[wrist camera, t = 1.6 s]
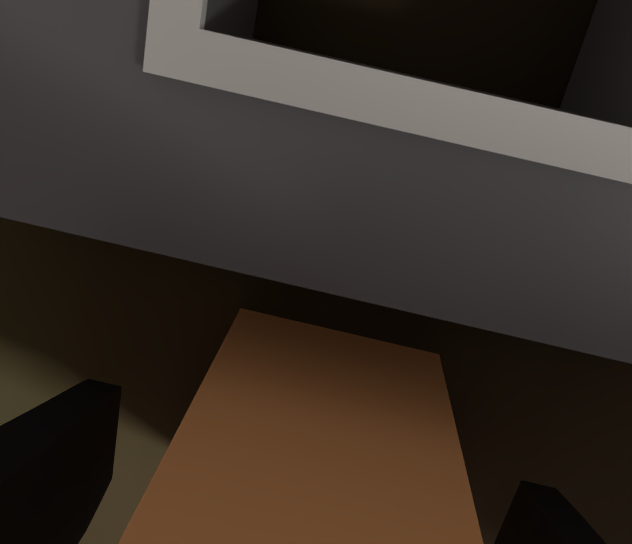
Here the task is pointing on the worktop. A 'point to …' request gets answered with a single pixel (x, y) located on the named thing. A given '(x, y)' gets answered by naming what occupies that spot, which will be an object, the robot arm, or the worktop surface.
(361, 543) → the plug
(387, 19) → the worktop surface
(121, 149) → the socket block
